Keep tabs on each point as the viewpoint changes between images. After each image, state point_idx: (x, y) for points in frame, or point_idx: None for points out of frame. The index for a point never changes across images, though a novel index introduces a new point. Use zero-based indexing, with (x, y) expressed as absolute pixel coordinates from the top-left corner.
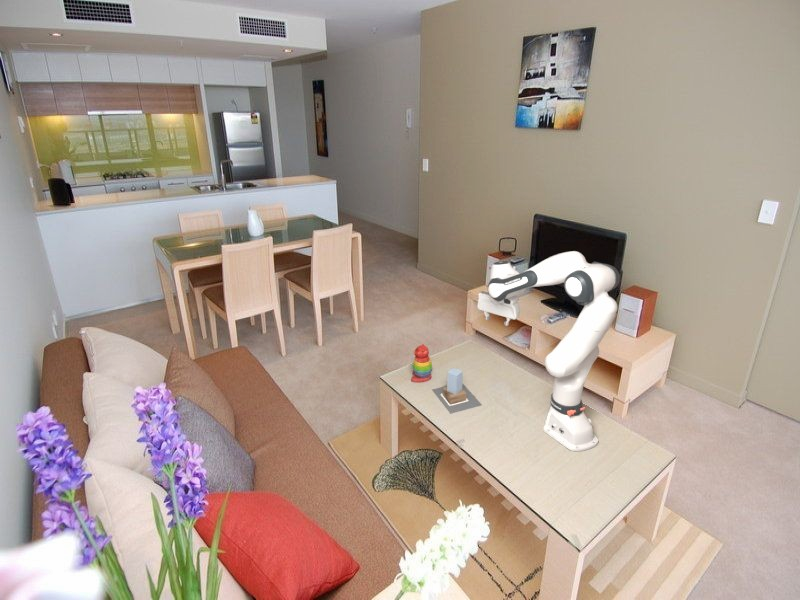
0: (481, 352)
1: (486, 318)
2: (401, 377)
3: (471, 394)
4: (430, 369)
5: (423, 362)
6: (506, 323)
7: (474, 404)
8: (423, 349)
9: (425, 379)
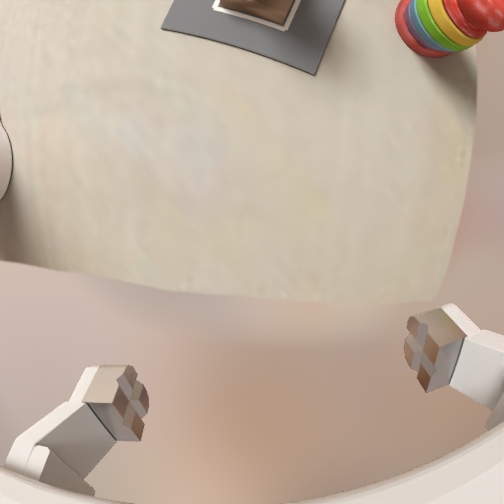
0: (381, 289)
1: (457, 316)
2: None
3: (231, 40)
4: (417, 16)
5: None
6: (81, 391)
7: (183, 11)
8: None
9: (401, 9)
